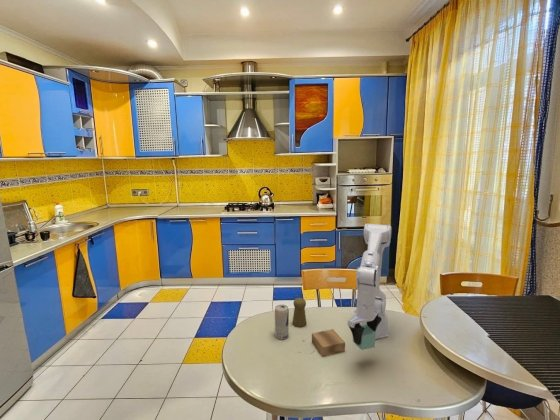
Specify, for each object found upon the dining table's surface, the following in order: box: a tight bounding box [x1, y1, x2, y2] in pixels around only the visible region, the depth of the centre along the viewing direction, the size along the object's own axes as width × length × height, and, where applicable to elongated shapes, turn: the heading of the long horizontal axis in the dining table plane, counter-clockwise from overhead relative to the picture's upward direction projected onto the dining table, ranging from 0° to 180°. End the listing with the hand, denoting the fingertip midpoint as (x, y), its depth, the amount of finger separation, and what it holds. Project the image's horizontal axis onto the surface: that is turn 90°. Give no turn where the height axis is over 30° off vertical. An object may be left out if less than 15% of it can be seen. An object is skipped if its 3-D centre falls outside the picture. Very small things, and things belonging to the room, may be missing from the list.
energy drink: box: [274, 304, 290, 340], centre depth 118 cm, size 5×5×12 cm
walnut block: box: [311, 328, 346, 358], centre depth 112 cm, size 9×9×4 cm
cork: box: [291, 297, 308, 329], centre depth 127 cm, size 6×6×11 cm
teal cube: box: [352, 324, 376, 351], centre depth 102 cm, size 5×5×5 cm
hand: (363, 339), depth 102 cm, fingers closed on teal cube, 6 cm apart
